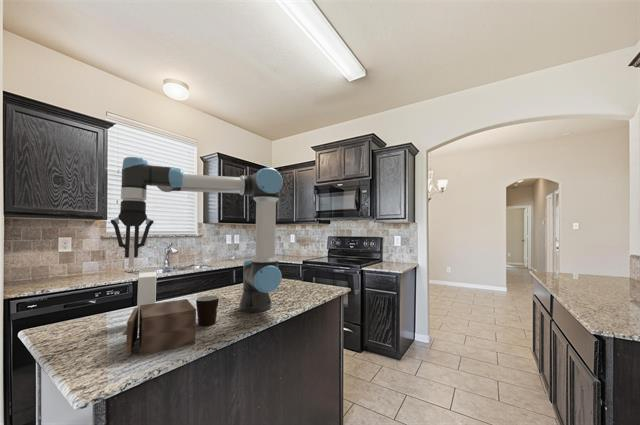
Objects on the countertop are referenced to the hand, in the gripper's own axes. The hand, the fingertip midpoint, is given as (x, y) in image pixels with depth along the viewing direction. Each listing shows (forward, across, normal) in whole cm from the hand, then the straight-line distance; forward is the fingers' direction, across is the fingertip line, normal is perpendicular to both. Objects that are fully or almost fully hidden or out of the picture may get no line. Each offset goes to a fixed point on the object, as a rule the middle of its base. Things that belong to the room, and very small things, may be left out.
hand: (130, 266), depth 96 cm
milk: (+25, -6, -14) cm, 29 cm away
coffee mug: (+25, -27, 0) cm, 37 cm away
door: (+24, 0, +10) cm, 26 cm away
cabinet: (+24, -10, +10) cm, 29 cm away
